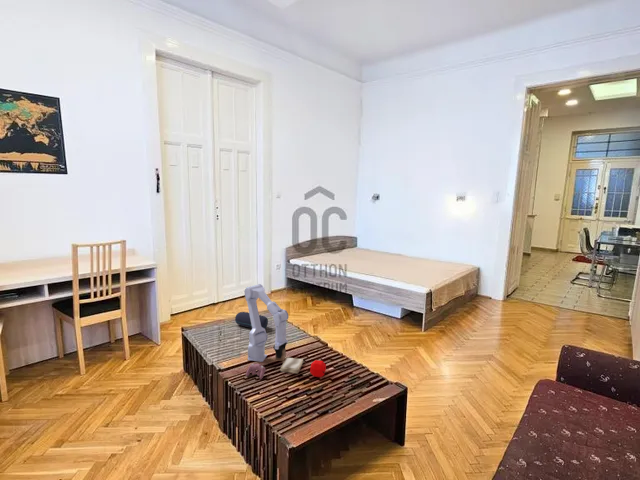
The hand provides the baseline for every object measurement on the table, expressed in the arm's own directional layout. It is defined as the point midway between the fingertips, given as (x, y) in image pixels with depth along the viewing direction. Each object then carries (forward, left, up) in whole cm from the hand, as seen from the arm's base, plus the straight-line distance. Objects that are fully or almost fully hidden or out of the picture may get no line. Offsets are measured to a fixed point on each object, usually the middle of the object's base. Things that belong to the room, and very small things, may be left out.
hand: (280, 355), depth 187 cm
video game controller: (-11, -8, -9) cm, 17 cm away
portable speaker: (-37, +51, -9) cm, 64 cm away
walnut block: (0, 0, -2) cm, 2 cm away
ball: (+21, 0, -9) cm, 23 cm away
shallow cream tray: (+5, +5, -9) cm, 12 cm away
